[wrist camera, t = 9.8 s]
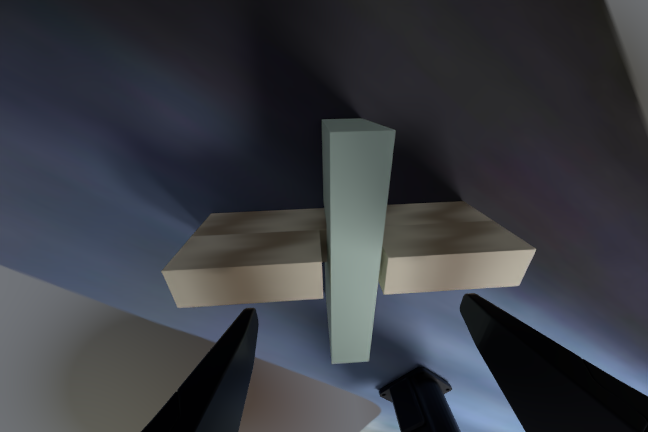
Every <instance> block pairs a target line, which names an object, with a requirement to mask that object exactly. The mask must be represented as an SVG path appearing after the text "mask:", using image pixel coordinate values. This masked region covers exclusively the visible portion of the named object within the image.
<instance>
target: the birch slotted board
mask: <svg viewBox="0 0 648 432" xmlns="http://www.w3.org/2000/svg"><path fill="white" fill-rule="evenodd" d="M535 251H536V249H535V248H534V247H532V246H531V245H529V244H528V243H526V242H525V241H523V240H522V239H520V238H519V237H517V236H516V235H514V234H513V233H511V232H509V231H508V230H506V229H505V228H503V227H502V226H500V225H499V224H497V223H496V222H494V221H493V220H491V219H490V218H488V217H487V216H485V215H484V214H482V213H480V212H479V211H477V210H476V209H474V208H473V207H471V206H470V205H468V204H467V203H465V202H464V201H457V202H436V203H416V204H395V205H387V210H386V218H385V227H384V235H383V244H382V253H381V261H380V270H379V278H378V281H379V284H380V286H381V289H382V291H383V294H384V295H386V294H401V293H417V292H432V291H447V290H463V289H478V288H493V287H509V286H519V285H520V283H521V280H522V278H523V276H524V274H525V272H526V270H527V268H528V266H529V264H530V262H531V260H532V258H533V256H534V254H535ZM322 262H327V229H326V217H325V210H324V208H313V209H293V210H272V211H252V212H231V213H211V214H210V215H209V217H208V218H207V219H206V220H205V221H204V222H203V223H202V225H201V226H200V227H199V228H198V229H197V230H196V232H195V233H194V234H193V235H192V236H191V237H190V239H189V240H188V241H187V242H186V243H185V244H184V246H183V247H182V248H181V249H180V250H179V251H178V253H177V254H176V255H175V256H174V257H173V258H172V259H171V261H170V262H169V263H168V264H167V265H166V266H165V268H164V269H163V270H162V274H163V276H164V278H165V280H166V283H167V285H168V287H169V289H170V291H171V294H172V296H173V298H174V300H175V303H176V305H177V307H178V308H186V307H202V306H217V305H232V304H248V303H263V302H278V301H294V300H309V299H323V280H322Z"/></svg>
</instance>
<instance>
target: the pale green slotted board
mask: <svg viewBox="0 0 648 432" xmlns="http://www.w3.org/2000/svg"><path fill="white" fill-rule="evenodd" d="M395 132H396V130H394V129H391V128H388V127H385V126H382V125H379V124H376V123H373V122H371V121H368V120H365V119H362V118H358V119H322V159H323V203H324V210H325V217H326V229H327V262H325V293H326V305H327V316H328V328H329V340H330V351H331V363H332V364H341V363H355V362H368V361H369V356H370V347H371V339H372V330H373V321H374V313H375V304H376V296H377V287H378V278H379V270H380V261H381V253H382V244H383V235H384V227H385V218H386V210H387V201H388V192H389V184H390V175H391V167H392V158H393V149H394V141H395Z"/></svg>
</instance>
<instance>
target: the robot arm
mask: <svg viewBox="0 0 648 432" xmlns="http://www.w3.org/2000/svg"><path fill="white" fill-rule="evenodd" d="M460 312H461V315H462V317H463V319H464V321H465V323H466V325H467V328H468V330H469V332H470V334H471V336H472V338H473V340H474V343H475V345H476V347H477V349H478V350H479V352H480V354H481V356H482V357H483V359H484V361H485V363H486V364H487V366H488V368H489V369H490V371H491V373H492V375H493V376H494V378H495V380H496V382H497V383H498V385H499V387H500V388H501V390H502V392H503V394H504V395H505V397H506V399H507V401H508V402H509V404H510V406H511V407H512V409H513V411H514V413H515V414H516V416H517V418H518V419H519V421H520V423H521V425H522V426H523V428H524V430H525V432H648V396H646V395H644V394H642V393H641V392H639V391H637V390H635V389H634V388H632V387H630V386H628V385H627V384H625V383H623V382H621V381H619V380H618V379H616V378H614V377H613V376H611V375H609V374H608V373H606V372H604V371H603V370H601V369H599V368H597V367H596V366H594V365H593V364H591V363H589V362H588V361H586V360H584V359H581V357H579V356H578V355H576V354H574V353H573V352H571V351H569V350H568V349H566V348H564V347H563V346H561V345H559V344H558V343H556V342H555V341H553V340H551V339H550V338H548V337H546V336H545V335H543V334H541V333H540V332H538V331H536V330H535V329H533V328H531V327H530V326H528V325H527V324H525V323H523V322H522V321H520V320H518V319H517V318H515V317H513V316H512V315H510V314H508V313H507V312H505V311H503V310H502V309H500V308H499V307H497V306H495V305H494V304H492V303H490V302H489V301H487V300H485V299H484V298H482V297H480V296H479V295H477V294H475V293H469V294H465V295H464V296H463V299H462V302H461V305H460ZM257 334H258V317H257V313H256V309H255V308H246V309H244V310H243V311H242V312H241V314H240V315H239V316H238V317H237V318H236V320H235V321H234V322H233V323H232V324H231V326H230V327H229V328H228V329H227V330H226V332H225V333H224V334H223V335H222V337H221V338H220V339H219V340H218V341H217V343H216V344H215V345H214V346H213V347H212V349H211V350H210V351H209V352H208V353H207V355H206V356H205V357H204V358H203V359H202V361H201V362H200V363H199V364H198V366H197V367H196V368H195V369H194V370H193V372H192V373H191V374H190V375H189V376H188V378H187V379H186V380H185V381H184V382H183V384H182V385H181V386H180V387H179V388H178V392H175V393H174V394H173V396H172V397H171V398H170V399H169V400H168V402H167V403H166V404H165V405H164V406H163V407H162V409H161V410H160V411H159V412H158V413H157V415H156V416H155V417H154V418H153V419H152V420H151V421H150V422H149V423H148V425H147V426H146V427H145V428H144V429H143V430H142V431H141V432H238V430H239V426H240V421H241V417H242V413H243V409H244V404H245V399H246V395H247V391H248V387H249V383H250V378H251V374H252V370H253V364H254V357H255V349H256V341H257ZM451 390H452V387H451V385H450V384H449V383H447V382H446V381H444V380H443V379H441V378H439V377H438V376H436V375H435V374H433V373H431V372H430V371H428V370H427V369H425V368H423V367H419V368H417V369H415V370H413V371H411V372H410V373H408V374H406V375H405V376H403V377H401V378H399V379H398V380H396V381H394V382H393V383H391V384H389V385H387V386H386V387H384V388H382V389H381V390H379V394H380V397H382V398H384V399H386V400H388V401H390V402H392V403H393V405H394V409H395V413H396V416H397V420H398V423H399V427H400V431H401V432H461V431H460V429H459V427H458V425H457V422H456V420H455V418H454V416H453V414H452V412H451V409H450V407H449V405H448V403H447V401H446V398H445V396H444V394H445V393H447V392H449V391H451Z"/></svg>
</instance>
